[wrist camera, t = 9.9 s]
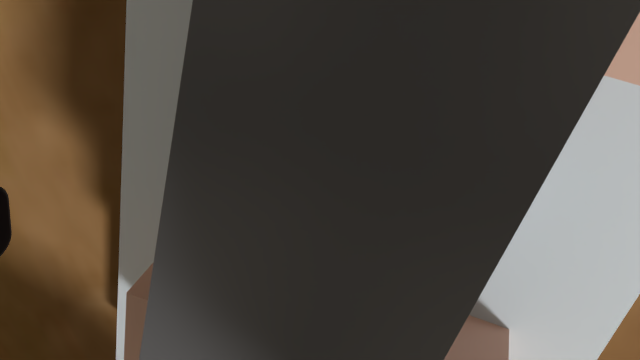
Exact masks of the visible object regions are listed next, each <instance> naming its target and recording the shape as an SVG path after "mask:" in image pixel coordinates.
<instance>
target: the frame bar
mask: <svg viewBox="0 0 640 360" xmlns="http://www.w3.org/2000/svg"><path fill="white" fill-rule="evenodd" d="M639 13H640V0H193V2H192V9H191V15H190V22H189V29H188V35H187V42H186V49H185V55H184V62H183V69H182V75H181V82H180V89H179V96H178V102H177V109H176V116H175V122H174V129H173V136H172V142H171V149H170V156H169V162H168V169H167V176H166V182H165V189H164V196H163V202H162V209H161V216H160V223H159V229H158V236H157V243H156V249H155V256H154V263H153V269H152V276H151V283H150V289H149V296H148V303H147V309H146V316H145V323H144V329H143V336H142V343H141V350H140V356H139V360H444V359H445V357H446V355H447V353H448V352H449V350H450V348H451V346H452V344H453V343H454V341H455V339H456V337H457V336H458V334H459V332H460V330H461V329H462V327H463V325H464V323H465V321H466V320H467V318H468V316H469V314H470V313H471V311H472V309H473V307H474V305H475V304H476V302H477V300H478V298H479V297H480V295H481V293H482V291H483V289H484V288H485V286H486V284H487V282H488V281H489V279H490V277H491V275H492V273H493V272H494V270H495V268H496V266H497V265H498V263H499V261H500V259H501V257H502V256H503V254H504V252H505V250H506V249H507V247H508V245H509V243H510V242H511V240H512V238H513V236H514V234H515V233H516V231H517V229H518V227H519V226H520V224H521V222H522V220H523V218H524V217H525V215H526V213H527V211H528V210H529V208H530V206H531V204H532V202H533V201H534V199H535V197H536V195H537V194H538V192H539V190H540V188H541V186H542V185H543V183H544V181H545V179H546V178H547V176H548V174H549V172H550V171H551V169H552V167H553V165H554V163H555V162H556V160H557V158H558V156H559V155H560V153H561V151H562V149H563V147H564V146H565V144H566V142H567V140H568V139H569V137H570V135H571V133H572V131H573V130H574V128H575V126H576V124H577V123H578V121H579V119H580V117H581V115H582V114H583V112H584V110H585V108H586V107H587V105H588V103H589V101H590V99H591V98H592V96H593V94H594V92H595V91H596V89H597V87H598V85H599V84H600V82H601V80H602V78H603V76H604V75H605V73H606V71H607V69H608V68H609V66H610V64H611V62H612V60H613V59H614V57H615V55H616V53H617V52H618V50H619V48H620V46H621V44H622V43H623V41H624V39H625V37H626V36H627V34H628V32H629V30H630V28H631V27H632V25H633V23H634V21H635V20H636V18H637V16H638V14H639Z"/></svg>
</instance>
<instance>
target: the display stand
mask: <svg viewBox="0 0 640 360" xmlns="http://www.w3.org/2000/svg"><path fill="white" fill-rule="evenodd" d="M192 2H193V0H127V3H126V37H125V70H124V104H123V137H122V171H121V204H120V237H119V271H118V304H117V338H116V360H139V356H140V350H141V343H142V336H143V329H144V323H145V316H146V309H147V303H148V296H149V289H150V283H151V276H152V269H153V263H154V256H155V249H156V243H157V236H158V229H159V223H160V216H161V209H162V202H163V196H164V189H165V182H166V176H167V169H168V162H169V156H170V149H171V142H172V136H173V129H174V122H175V116H176V109H177V102H178V96H179V89H180V82H181V75H182V69H183V62H184V55H185V49H186V42H187V35H188V29H189V22H190V15H191V9H192ZM639 294H640V13H639V14H638V16H637V18H636V20H635V21H634V23H633V25H632V27H631V28H630V30H629V32H628V34H627V36H626V37H625V39H624V41H623V43H622V44H621V46H620V48H619V50H618V52H617V53H616V55H615V57H614V59H613V60H612V62H611V64H610V66H609V68H608V69H607V71H606V73H605V75H604V76H603V78H602V80H601V82H600V84H599V85H598V87H597V89H596V91H595V92H594V94H593V96H592V98H591V99H590V101H589V103H588V105H587V107H586V108H585V110H584V112H583V114H582V115H581V117H580V119H579V121H578V123H577V124H576V126H575V128H574V130H573V131H572V133H571V135H570V137H569V139H568V140H567V142H566V144H565V146H564V147H563V149H562V151H561V153H560V155H559V156H558V158H557V160H556V162H555V163H554V165H553V167H552V169H551V171H550V172H549V174H548V176H547V178H546V179H545V181H544V183H543V185H542V186H541V188H540V190H539V192H538V194H537V195H536V197H535V199H534V201H533V202H532V204H531V206H530V208H529V210H528V211H527V213H526V215H525V217H524V218H523V220H522V222H521V224H520V226H519V227H518V229H517V231H516V233H515V234H514V236H513V238H512V240H511V242H510V243H509V245H508V247H507V249H506V250H505V252H504V254H503V256H502V257H501V259H500V261H499V263H498V265H497V266H496V268H495V270H494V272H493V273H492V275H491V277H490V279H489V281H488V282H487V284H486V286H485V288H484V289H483V291H482V293H481V295H480V297H479V298H478V300H477V302H476V304H475V305H474V307H473V309H472V311H471V313H470V314H469V316H468V318H467V320H466V321H465V323H464V325H463V327H462V329H461V330H460V332H459V334H458V336H457V337H456V339H455V341H454V343H453V344H452V346H451V348H450V350H449V352H448V353H447V355H446V357H445V359H444V360H597V359H598V357H599V356H600V354H601V353H602V351H603V349H604V348H605V346H606V345H607V343H608V342H609V340H610V339H611V337H612V336H613V334H614V333H615V331H616V329H617V328H618V326H619V325H620V323H621V322H622V320H623V319H624V317H625V316H626V314H627V313H628V311H629V309H630V308H631V306H632V305H633V303H634V302H635V300H636V299H637V297H638V296H639Z"/></svg>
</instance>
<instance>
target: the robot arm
mask: <svg viewBox="0 0 640 360" xmlns="http://www.w3.org/2000/svg"><path fill="white" fill-rule="evenodd" d="M10 239H11V220H10V209H9V198H8V194H7V193H6V191H5V189H3V188H2V187H0V256H1V255H2V254H3V253H4V251H5V250H6V248H7V247H8V245H9V242H10Z"/></svg>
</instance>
